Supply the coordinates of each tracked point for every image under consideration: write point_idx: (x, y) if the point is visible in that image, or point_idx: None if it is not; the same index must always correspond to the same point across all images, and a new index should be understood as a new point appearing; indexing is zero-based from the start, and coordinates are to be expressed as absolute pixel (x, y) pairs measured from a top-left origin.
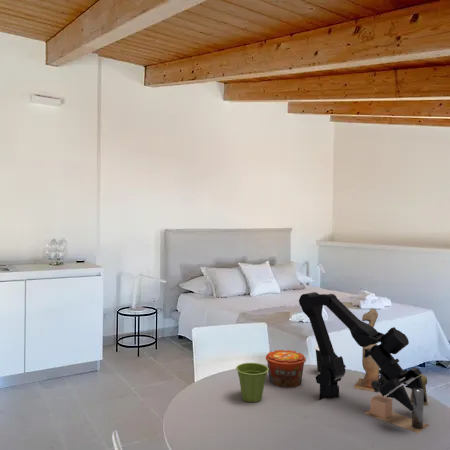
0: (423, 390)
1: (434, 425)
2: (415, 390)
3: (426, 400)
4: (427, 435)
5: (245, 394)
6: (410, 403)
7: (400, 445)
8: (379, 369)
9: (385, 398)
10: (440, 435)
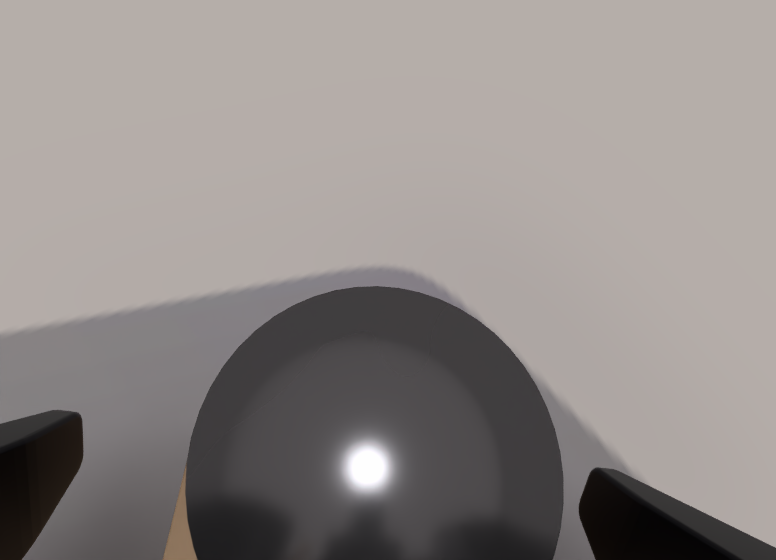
0: (346, 292)
1: (77, 412)
2: (545, 493)
3: (62, 412)
4: None
5: None
6: (699, 515)
7: None
8: None
9: None
10: (271, 318)
